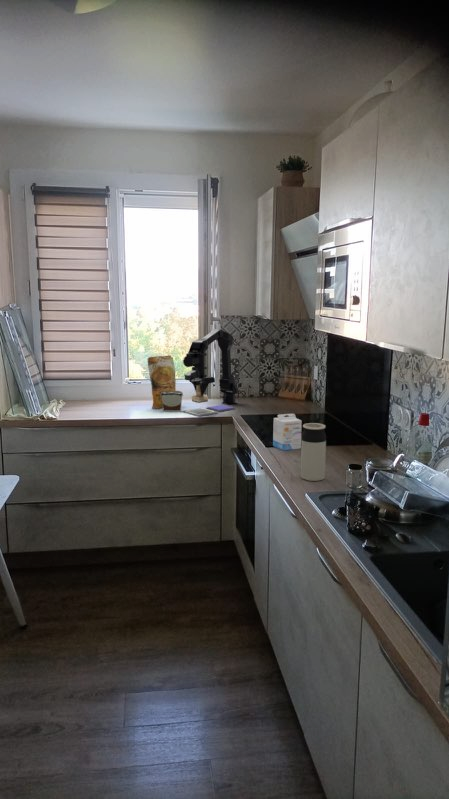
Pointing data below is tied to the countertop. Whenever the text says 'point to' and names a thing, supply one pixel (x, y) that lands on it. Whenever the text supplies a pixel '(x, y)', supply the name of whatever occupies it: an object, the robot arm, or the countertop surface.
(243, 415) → the countertop surface
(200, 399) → the stamp
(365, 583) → the countertop surface
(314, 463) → the travel mug
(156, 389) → the pancake mix bag
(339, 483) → the countertop surface
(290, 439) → the ink box
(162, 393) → the food container
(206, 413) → the marked board
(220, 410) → the ink pad
